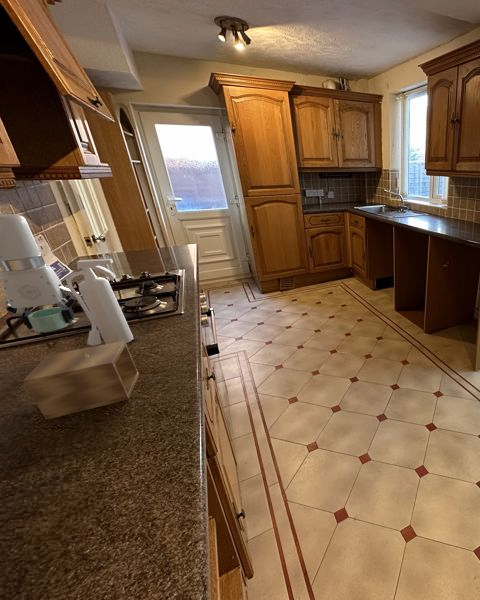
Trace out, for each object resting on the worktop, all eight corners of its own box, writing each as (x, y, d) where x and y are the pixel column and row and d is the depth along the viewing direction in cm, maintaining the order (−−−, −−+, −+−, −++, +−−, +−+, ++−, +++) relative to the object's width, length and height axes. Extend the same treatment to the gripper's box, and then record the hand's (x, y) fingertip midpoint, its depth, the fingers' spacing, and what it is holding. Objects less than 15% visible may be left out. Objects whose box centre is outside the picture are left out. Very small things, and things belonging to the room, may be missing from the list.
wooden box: (46, 419, 67) (22, 381, 63) (66, 391, 75) (46, 355, 71) (128, 399, 72) (112, 362, 68) (139, 374, 80) (125, 340, 76)
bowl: (29, 335, 87) (21, 320, 85) (42, 324, 93) (35, 309, 91) (64, 330, 89) (57, 315, 88) (75, 319, 95) (69, 305, 94)
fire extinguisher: (93, 342, 95) (55, 261, 85) (143, 332, 100) (113, 254, 90) (85, 353, 89) (44, 268, 79) (138, 342, 95) (106, 260, 84)
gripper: (-35, 272, 77) (1, 336, 84) (61, 263, 84) (86, 323, 91) (-15, 263, 83) (17, 324, 90) (73, 256, 90) (96, 313, 97)
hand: (51, 323), depth 91 cm, fingers closed on bowl, 7 cm apart
